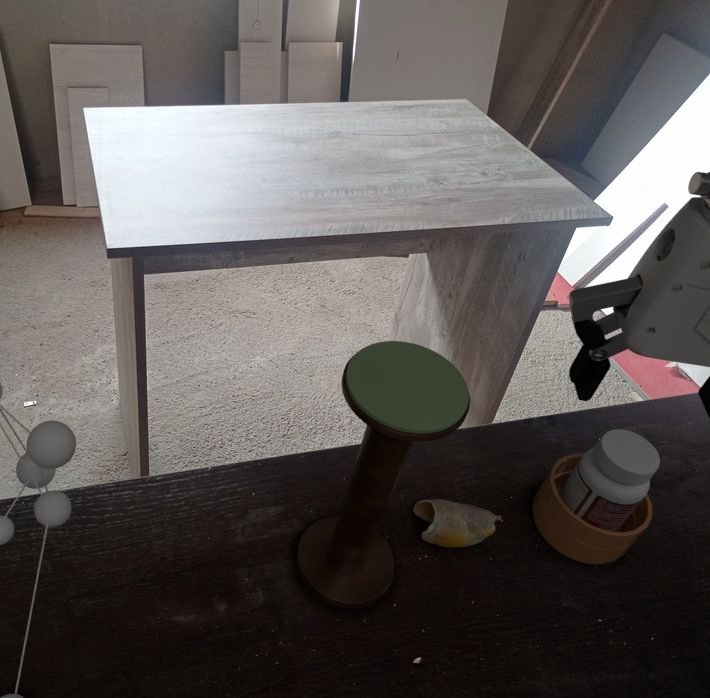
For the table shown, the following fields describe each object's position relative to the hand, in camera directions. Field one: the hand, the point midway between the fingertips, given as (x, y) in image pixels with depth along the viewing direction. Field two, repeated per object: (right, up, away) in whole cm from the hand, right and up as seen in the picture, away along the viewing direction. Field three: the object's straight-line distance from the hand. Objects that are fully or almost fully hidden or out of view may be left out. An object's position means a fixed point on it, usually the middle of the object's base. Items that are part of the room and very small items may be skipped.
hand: (643, 397), depth 54 cm
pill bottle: (+3, -14, +18) cm, 23 cm away
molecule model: (-53, -17, +9) cm, 56 cm away
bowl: (+3, -14, +18) cm, 23 cm away
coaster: (-19, +1, -4) cm, 19 cm away
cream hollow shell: (-10, -15, +16) cm, 24 cm away
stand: (-21, -16, +13) cm, 29 cm away
